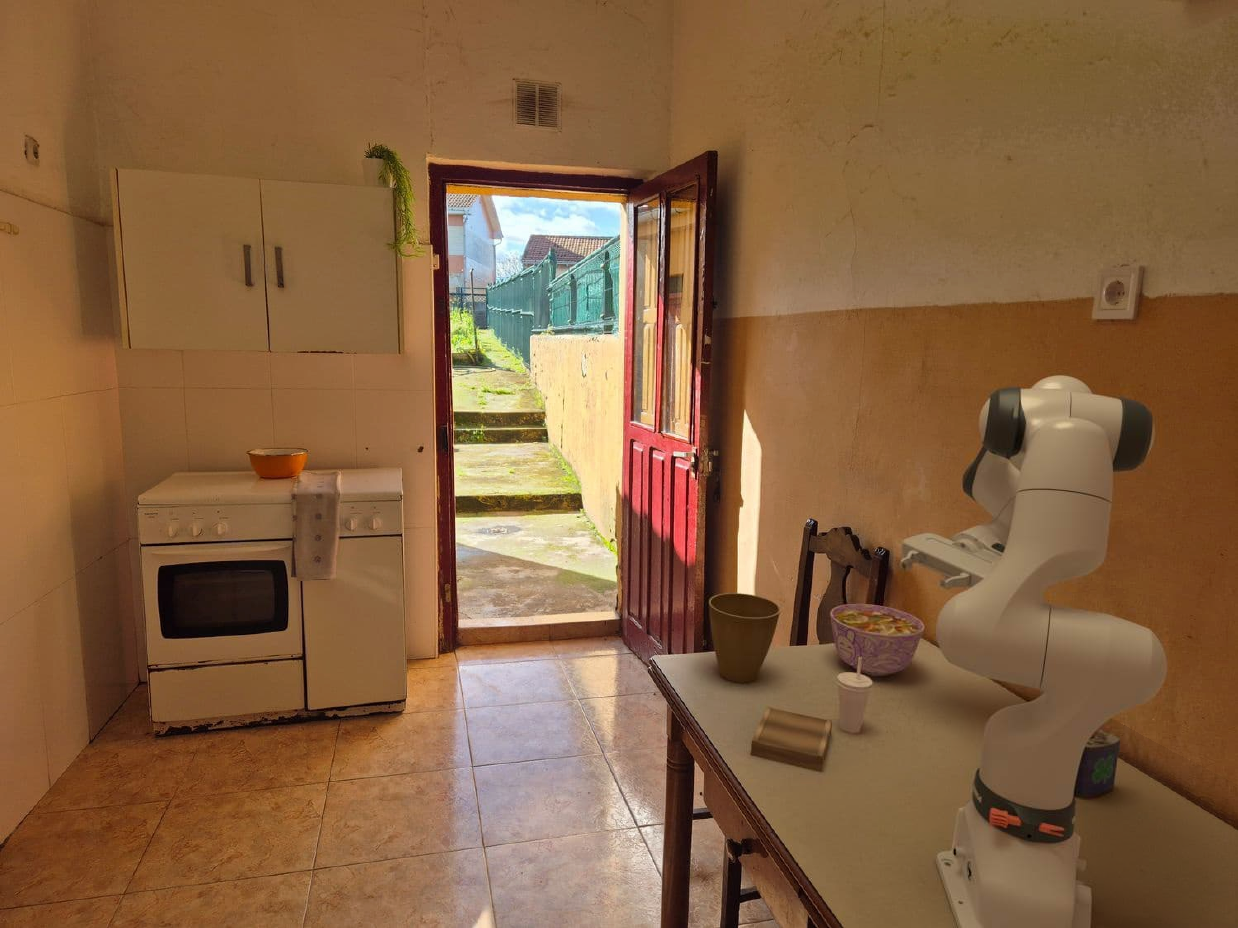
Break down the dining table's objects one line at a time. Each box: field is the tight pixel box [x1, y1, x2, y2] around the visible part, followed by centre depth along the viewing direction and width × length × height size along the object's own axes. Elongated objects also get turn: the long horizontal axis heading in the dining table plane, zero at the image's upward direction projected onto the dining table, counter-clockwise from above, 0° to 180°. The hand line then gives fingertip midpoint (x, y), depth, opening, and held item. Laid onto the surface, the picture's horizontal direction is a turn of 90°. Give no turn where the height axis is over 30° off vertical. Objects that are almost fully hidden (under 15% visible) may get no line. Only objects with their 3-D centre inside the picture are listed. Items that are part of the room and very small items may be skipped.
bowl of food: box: [829, 603, 926, 677], centre depth 172 cm, size 20×20×12 cm
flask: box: [1073, 728, 1121, 800], centre depth 127 cm, size 9×3×11 cm, turn 114°
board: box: [750, 706, 833, 772], centre depth 138 cm, size 14×12×3 cm
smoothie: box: [836, 657, 873, 734], centre depth 144 cm, size 6×6×14 cm
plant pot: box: [708, 592, 781, 684], centre depth 164 cm, size 15×15×16 cm
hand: (922, 574), depth 144 cm, fingers open, 8 cm apart
